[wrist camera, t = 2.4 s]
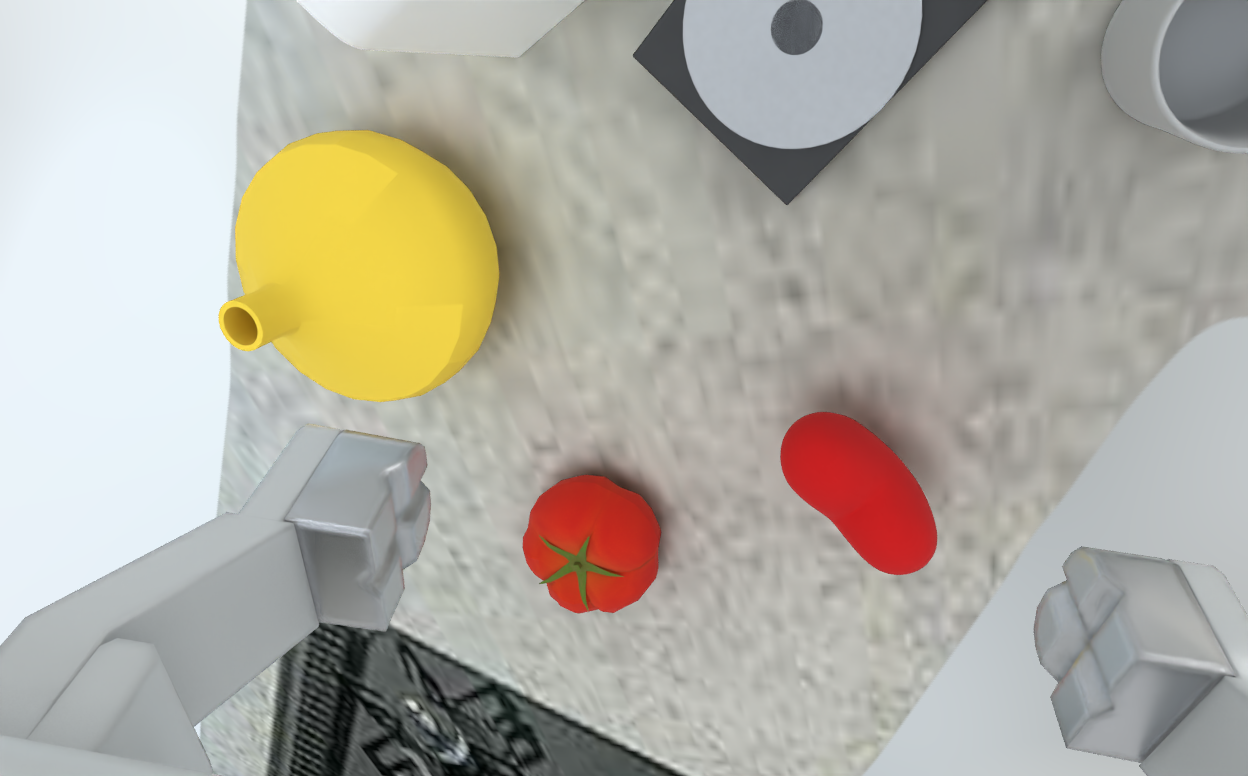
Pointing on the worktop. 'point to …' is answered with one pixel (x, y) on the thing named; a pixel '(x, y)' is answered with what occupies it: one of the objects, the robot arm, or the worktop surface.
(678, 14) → the scale
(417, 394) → the vase
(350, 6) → the milk
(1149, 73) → the mug
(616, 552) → the tomato
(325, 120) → the worktop surface
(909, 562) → the heart
